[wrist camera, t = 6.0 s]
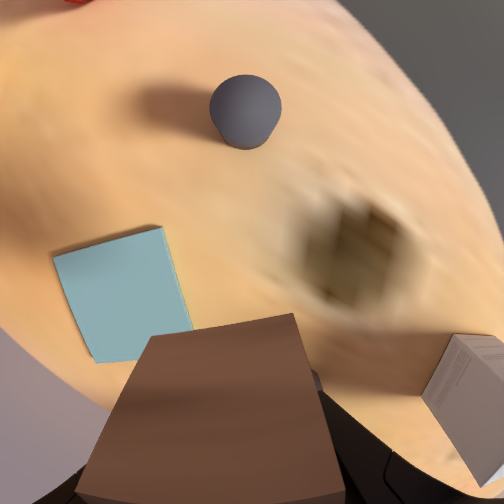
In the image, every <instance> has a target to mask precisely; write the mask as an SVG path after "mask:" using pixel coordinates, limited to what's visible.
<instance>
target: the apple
mask: <svg viewBox="0 0 504 504" xmlns="http://www.w3.org/2000/svg"><path fill="white" fill-rule="evenodd" d="M64 1H66V2H74V3H79V2H83V1H87V0H64Z"/></svg>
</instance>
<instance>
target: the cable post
mask: <svg viewBox="0 0 504 504" xmlns="http://www.w3.org/2000/svg"><path fill="white" fill-rule="evenodd" d="M281 109H282V108H281V100H280V97H279V94H278V92H277V91H276V89H275V88H274V87H273V86H272V85H271V84H270V83H269V82H268V81H266V80H264V79H262V78H260V77H257V76H254V75H238V76H234V77H231V78H229V79H227V80H225V81H224V82H223V83H221V84H220V85H219V86H218V87H217V89H216V90H215V92H214V93H213V95H212V98H211V101H210V115H211V118H212V121H213V123H214V124H215V126H216V127H217V129H218V131H219V132H220V134H221V135H222V137H223V138H224V140H225V141H226V142H227V143H228V144H230V145H231V146H233V147H235V148H238V149H242V150H249V149H254V148H257V147H259V146H261V145H262V144H263V143H264V142H265V141H266V140H267V139H268V138H269V136H270V134H271V133H272V131H273V129H274V128H275V126H276V124H277V123H278V121H279V118H280V115H281Z"/></svg>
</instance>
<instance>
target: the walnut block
mask: <svg viewBox="0 0 504 504" xmlns="http://www.w3.org/2000/svg"><path fill="white" fill-rule="evenodd" d="M75 492H76V493H77V494H78V495H79V496H80V497H81V498H82V499H83V500H84V501H85V502H86V503H88V504H345V492H346V489H345V486H344V482H343V479H342V475H341V471H340V468H339V464H338V461H337V457H336V454H335V450H334V447H333V443H332V440H331V436H330V433H329V429H328V426H327V423H326V419H325V416H324V412H323V409H322V406H321V402H320V399H319V396H318V392H317V389H316V386H315V382H314V379H313V376H312V372H311V369H310V366H309V362H308V359H307V356H306V353H305V349H304V346H303V343H302V340H301V337H300V333H299V330H298V327H297V324H296V321H295V317H294V314H293V313H289V314H284V315H279V316H274V317H269V318H264V319H258V320H253V321H247V322H242V323H236V324H230V325H224V326H218V327H212V328H205V329H199V330H192V331H185V332H178V333H171V334H163V335H155V336H151V337H150V339H149V341H148V343H147V345H146V347H145V349H144V350H143V352H142V354H141V356H140V358H139V360H138V362H137V364H136V365H135V367H134V369H133V371H132V373H131V375H130V377H129V379H128V381H127V383H126V385H125V387H124V388H123V390H122V392H121V394H120V396H119V398H118V400H117V402H116V404H115V406H114V408H113V410H112V412H111V414H110V416H109V418H108V420H107V422H106V424H105V426H104V429H103V431H102V433H101V435H100V437H99V439H98V441H97V443H96V445H95V447H94V449H93V452H92V454H91V456H90V458H89V460H88V462H87V464H86V467H85V469H84V471H83V473H82V476H81V478H80V480H79V482H78V485H77V487H76V489H75Z"/></svg>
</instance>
